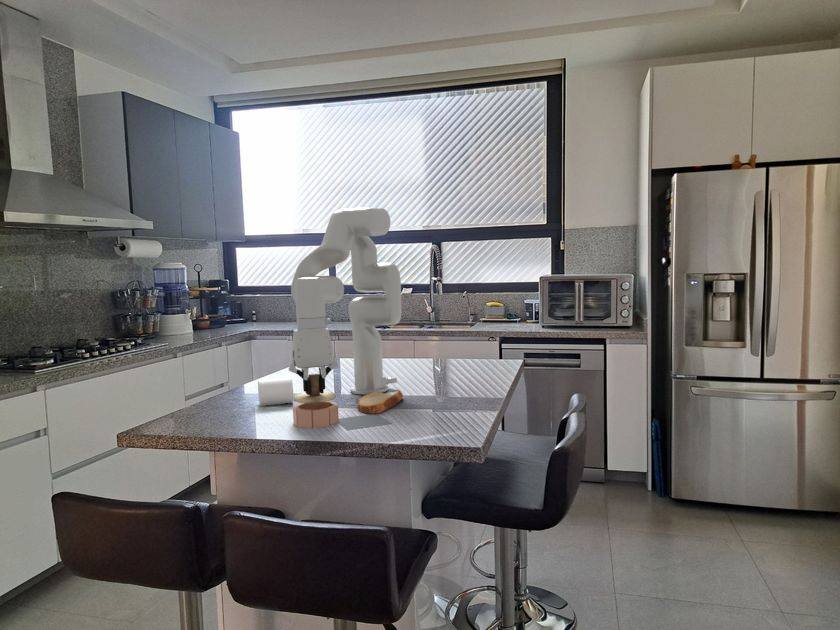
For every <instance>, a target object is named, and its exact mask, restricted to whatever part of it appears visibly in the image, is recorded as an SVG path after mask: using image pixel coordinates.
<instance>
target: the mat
mask: <svg viewBox="0 0 840 630" xmlns="http://www.w3.org/2000/svg"><path fill="white" fill-rule="evenodd" d="M337 423H338V424H339V425H340V426H341V427H343V429H345V430H347V431H353V430H358V429H365V428H373V427H380V426H386V425H392V424H393V423H392V421H389V420H388V419H386V418H385V417H383V416H382V415H379V413H378V414H362V415H355V416H348V417H342V418H339V421H338V422H337Z"/></svg>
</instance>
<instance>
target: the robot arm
mask: <svg viewBox="0 0 840 630" xmlns="http://www.w3.org/2000/svg"><path fill="white" fill-rule="evenodd" d="M390 227H391V216H390V214H389V212H388V211H387V210H386V209H385V208H383V207H354V208H343V209H342V208H341V209H338V210H335V211H334V212H333V213H332V214H331V216H330V218H329V221H328V224H327V226H326V229H325V233H324V235H323V238H322V241H321V244H320V245H318V247H316V248H315V249H314V250H313V251H311V252H310V253H309V254H308V255H307V256H305V257H304V258H303V259H302V260H301V261H300V262H299V264H298V266H297V267H296V270H295V273H294V275H293V277H292V278H293V279H292V282H291V288H290V292H291V293H290V294H291V297H292V299H293V300H294V301H295V313H296V329H294V330H293V333H292V343H291V345H292V347H291V351H292V352H291V359H292V360H291V362H290V365H289V367H288V371H289V372H290V373H293V374H295V375H298V376H299V377H300V378H302V384H303V387H302V388H303V393H306V394H307V395H310V394H311V385H310V380H309V377H308V375H309V369H313V368H318V374H319V382H320V393H321V394H322V393H324V391H325V390H326V378H327V376H328V375H329V373H330V372H331V371H332V370H334V369H336V368H337V367H338V366H339V365H338V363H337V362H336V361H337V360H336V359H335V358H334V354H333V345H332V340H331V334H330V329H329V328H327V326H328V325H330V324H332V320H331V318H327V316H326V304H335V303H337V302H340V300H342V298H343V296H344V293H345V285H344V282H343V281H342V280H341V279H340V278H339V277H337V276H334V275H318V274H320V273H321V272H323V271H325V270H327V269H330V268H332V267H335V266H337V265H340V264H341V263H343V262H345V261H346V260H347V259H348V258H349V256H350V258H351V259H350V261H351V279H352V287H353V288H354V290H355V291H356V292H358V293H384V294H385V295H384V296H383V295H381V296H379V295H378V296H375V295H373V296H372V295H369V296H358V297H354V298H353V299H352V300H351V301H350V303H349V305H348V316H349V317H348V318H349V320H350V325H351V332H352V350H353V353H352V354H353V369H354V370H353V373H354V377H353V378H354V385H353V386H351V387H350V389H349V391H350V393H351V394H355V395H363V396H365V395H367V394H370V393H372V392H374V391H377V392H381V393H386V392H387V391H389V386H388V385H389V384H397V383H398V378H397V376H394V377H391V376H389V377H386V376H384V373H383V371H384V370H383V366H384V365H383V345H382V343H383V342H382V341H383V340H382V337H381V333H380V332H379V331H378V329H377V328H376V327H375V326H394V325H397V324H399V323H400V321H401V319H402V309H403V307H402V284H401V283H402V282H401V273H400V270H399V268H398V266H397V265H396V264H394V263H391V262H378V254H377V253H378V250H377V246H376V244H375V242H374V241H373V240H372V239H371V237H378V236H379V237H380V236H385V235H386V234H388V232H389V230H390Z"/></svg>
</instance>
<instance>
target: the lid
mask: <svg viewBox="0 0 840 630" xmlns="http://www.w3.org/2000/svg"><path fill="white" fill-rule="evenodd" d="M308 377H309V380H310V385H311V394H310V395H307V394H306V392H301V393H297V394H295V395H293V402H296V403H298V404H300V403H320V402H326V401H333V400H335V399H336V398H337V394H336V392H334V391H327V390H324V393H322V394H321V393H320V382H319V373H308Z"/></svg>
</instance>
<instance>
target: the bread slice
mask: <svg viewBox="0 0 840 630" xmlns="http://www.w3.org/2000/svg"><path fill="white" fill-rule="evenodd" d="M403 396H404V394H403V392H402V391H401V390H400V389H398V390H397V392H394V393H392V394H391V393H390V394H388V393H385V392H383V393H381V392H377V391H374V392H372V393H370V394H367V395H363V396H362V397H360V398H359V399H358V403H357V409H356V410H357V411H358V412H360V413H363V414H367V415H369V414H378V415H379V414H381V413H384V412H385V411H388V410H390V409H391V408H393V407H394V406H396V405H397V404H399V402H401V401H402V398H403Z"/></svg>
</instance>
